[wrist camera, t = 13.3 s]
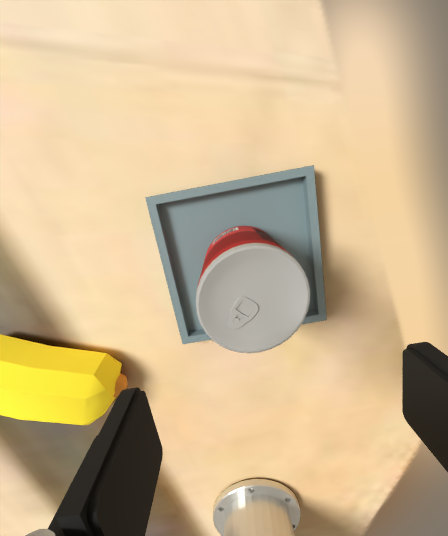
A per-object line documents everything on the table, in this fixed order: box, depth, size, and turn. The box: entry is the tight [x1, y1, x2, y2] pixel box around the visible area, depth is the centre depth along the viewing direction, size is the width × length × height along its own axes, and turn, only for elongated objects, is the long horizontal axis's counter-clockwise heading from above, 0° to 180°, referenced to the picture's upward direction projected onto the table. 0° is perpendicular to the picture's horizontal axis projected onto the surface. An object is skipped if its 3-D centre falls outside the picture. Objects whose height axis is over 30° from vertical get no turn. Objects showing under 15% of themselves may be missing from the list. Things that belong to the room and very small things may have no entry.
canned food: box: [196, 226, 310, 353], centre depth 23 cm, size 8×8×11 cm
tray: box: [145, 165, 327, 344], centre depth 28 cm, size 16×16×2 cm
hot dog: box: [0, 335, 128, 425], centre depth 30 cm, size 18×7×8 cm
